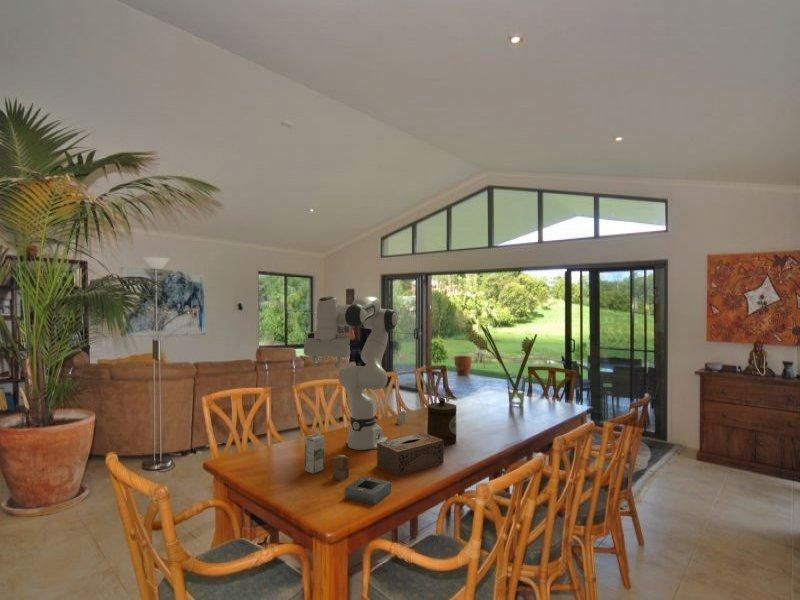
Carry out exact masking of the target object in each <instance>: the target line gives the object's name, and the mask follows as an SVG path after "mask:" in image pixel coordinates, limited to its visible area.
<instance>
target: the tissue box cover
mask: <svg viewBox="0 0 800 600" xmlns="http://www.w3.org/2000/svg"><path fill="white" fill-rule="evenodd" d="M444 449H445V447H444V440H442V439H439V438H437V437H434V436H431V435H428V434H427V433H426V432H418V433H415V434H410V435H406V436H405V435H404V436H402V437H398V438H393V439H388V440H387V441H384V442H379V443H377V449H376V466H377V467H379V468H381V469H383V470H385V471H386V472H388V473H391V474H392V475H395V476H397V477H400V476H402V475H406V474H409V473H412V472H415V471H418V470H422V469H426V468H429V467H432V466H435V465H439V464H442V463H444V459H445V458H444V457H445V456H444V455H445V452H444V451H445V450H444Z"/></svg>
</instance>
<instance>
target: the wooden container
mask: <svg viewBox="0 0 800 600" xmlns="http://www.w3.org/2000/svg"><path fill="white" fill-rule="evenodd" d="M457 427H458V426H457V405H456V404H453V403H449V402H446V399H445V398H444V397H440V398H439V399H438V402H432V403H429V404H428V405H427V426H426V428H427V429H426V430H427V431H426V432H427V433H426V434H428V435H431V436H434V437H437V438H439V439H442V440H444V446H445V447H446V446H451V445H454V444H456V443H457Z"/></svg>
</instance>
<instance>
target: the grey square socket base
mask: <svg viewBox="0 0 800 600" xmlns="http://www.w3.org/2000/svg"><path fill="white" fill-rule="evenodd" d="M391 492H392V482H391V481H387V480H382V479H378V478H374V477H369V476H365V475H362V476H361V477H360V478H358V479H356V480H355V481H353V482H352V483H350V484H349V485H347V486H345V487H344V498H345V499H349V500H352V501H353V500H354V501H355V502H356V501H357V502H362V503H365V504H368V505H372V506H375V505H376V504H377V503H378V502H380V501H381V500H382V499H384V498H385V497H387V496H388V495H389V494H390V493H391Z"/></svg>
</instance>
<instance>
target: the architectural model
mask: <svg viewBox="0 0 800 600" xmlns="http://www.w3.org/2000/svg"><path fill="white" fill-rule="evenodd" d="M394 419H395V420H396V424H397V425H398V426H399V425H403V424H404V423H406V410H403V411H401V410H400V411H399V414H398V415H397V416H396V417H395V418H394Z"/></svg>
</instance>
